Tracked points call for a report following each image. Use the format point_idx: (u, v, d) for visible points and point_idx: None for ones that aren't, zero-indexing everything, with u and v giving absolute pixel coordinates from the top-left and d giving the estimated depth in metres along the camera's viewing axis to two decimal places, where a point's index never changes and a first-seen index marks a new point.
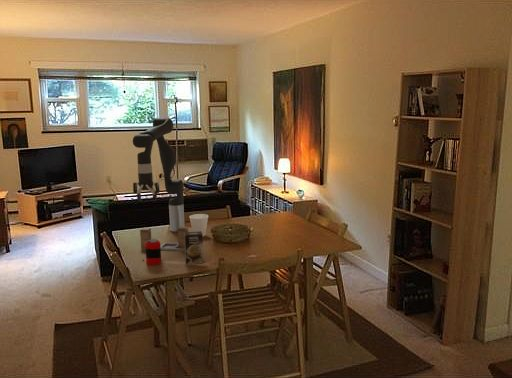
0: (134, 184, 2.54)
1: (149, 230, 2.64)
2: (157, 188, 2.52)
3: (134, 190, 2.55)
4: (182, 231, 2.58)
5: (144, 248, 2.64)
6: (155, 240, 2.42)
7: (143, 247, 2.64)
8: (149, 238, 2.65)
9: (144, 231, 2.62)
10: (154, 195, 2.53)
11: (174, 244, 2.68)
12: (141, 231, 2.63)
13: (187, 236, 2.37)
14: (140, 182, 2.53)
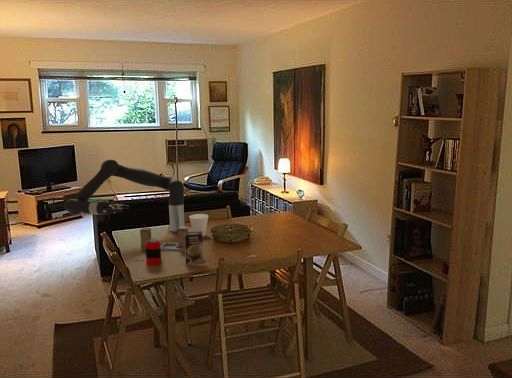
0: None
1: (149, 230, 2.64)
2: (107, 213, 2.59)
3: None
4: (182, 231, 2.58)
5: (144, 248, 2.64)
6: (155, 240, 2.42)
7: (143, 247, 2.64)
8: (149, 238, 2.65)
9: (144, 231, 2.62)
10: (116, 211, 2.60)
11: (174, 244, 2.68)
12: (141, 231, 2.63)
13: (187, 236, 2.37)
14: None
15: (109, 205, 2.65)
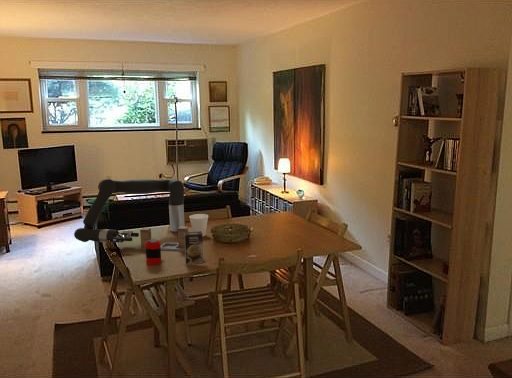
0: None
1: (149, 230, 2.64)
2: None
3: (130, 235, 2.74)
4: (182, 231, 2.58)
5: (144, 248, 2.64)
6: (155, 240, 2.42)
7: (143, 247, 2.64)
8: (149, 238, 2.65)
9: (144, 231, 2.62)
10: (126, 240, 2.63)
11: (174, 244, 2.68)
12: (141, 231, 2.63)
13: (187, 236, 2.37)
14: None
15: (119, 233, 2.67)
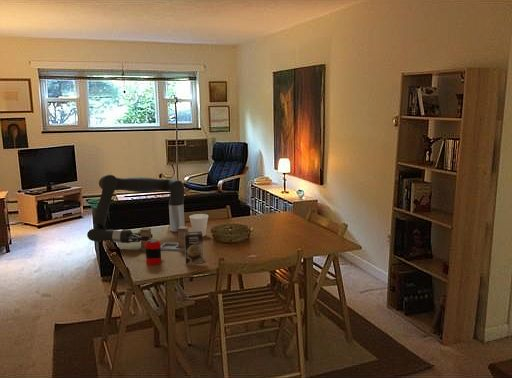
0: None
1: (149, 230, 2.64)
2: None
3: None
4: (182, 231, 2.58)
5: (144, 248, 2.64)
6: (155, 240, 2.42)
7: (143, 247, 2.64)
8: (149, 238, 2.65)
9: (144, 231, 2.62)
10: (142, 240, 2.63)
11: (174, 244, 2.68)
12: (141, 231, 2.63)
13: (187, 236, 2.37)
14: None
15: (132, 234, 2.65)
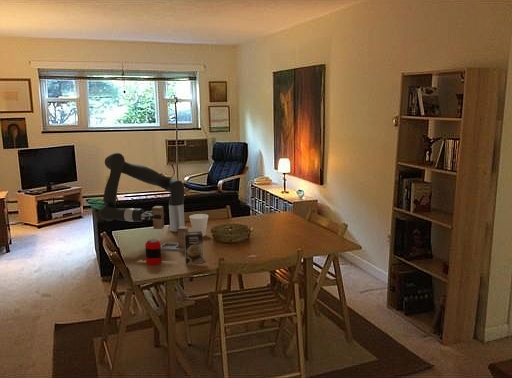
0: None
1: (161, 208, 2.61)
2: None
3: None
4: (182, 231, 2.58)
5: (156, 227, 2.61)
6: (155, 240, 2.42)
7: (155, 226, 2.61)
8: (161, 216, 2.61)
9: (156, 209, 2.59)
10: None
11: (174, 244, 2.68)
12: (153, 209, 2.59)
13: (187, 236, 2.37)
14: None
15: (144, 212, 2.61)
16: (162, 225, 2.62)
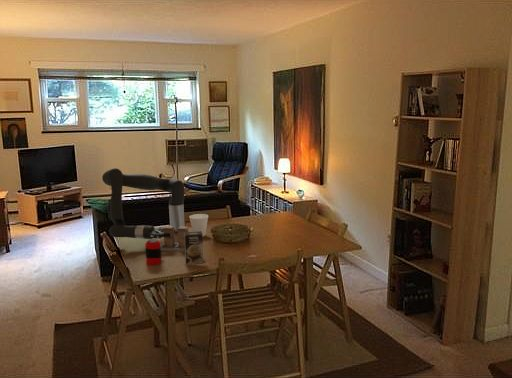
0: None
1: (172, 228, 2.62)
2: None
3: None
4: (182, 231, 2.58)
5: (167, 246, 2.62)
6: (155, 240, 2.42)
7: (166, 246, 2.62)
8: (172, 236, 2.62)
9: (168, 229, 2.60)
10: (164, 236, 2.58)
11: None
12: (164, 229, 2.60)
13: (187, 236, 2.37)
14: None
15: (155, 229, 2.62)
16: (173, 245, 2.63)
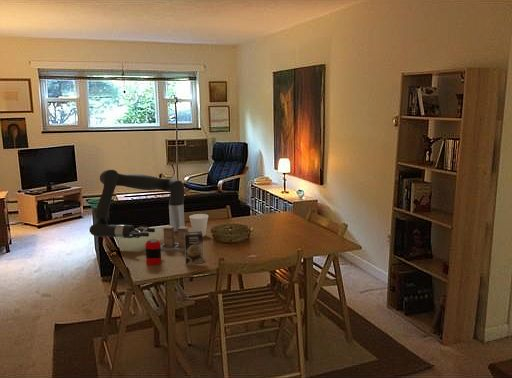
0: None
1: (172, 228, 2.62)
2: (134, 237, 2.59)
3: None
4: (182, 231, 2.58)
5: (167, 246, 2.62)
6: (155, 240, 2.42)
7: (166, 246, 2.62)
8: (172, 236, 2.62)
9: (167, 229, 2.60)
10: (142, 235, 2.60)
11: None
12: (164, 229, 2.60)
13: (187, 236, 2.37)
14: None
15: (135, 229, 2.64)
16: (173, 245, 2.63)
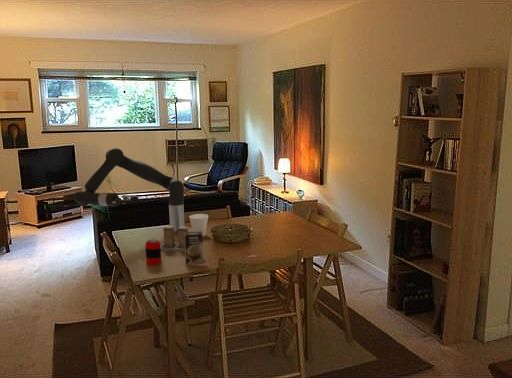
0: None
1: (172, 228, 2.62)
2: (117, 204, 2.59)
3: (130, 199, 2.72)
4: (182, 231, 2.58)
5: (167, 246, 2.62)
6: (155, 240, 2.42)
7: (166, 246, 2.62)
8: (172, 236, 2.62)
9: (167, 229, 2.60)
10: (125, 203, 2.61)
11: None
12: (164, 229, 2.60)
13: (187, 236, 2.37)
14: None
15: (118, 196, 2.65)
16: (173, 245, 2.63)
